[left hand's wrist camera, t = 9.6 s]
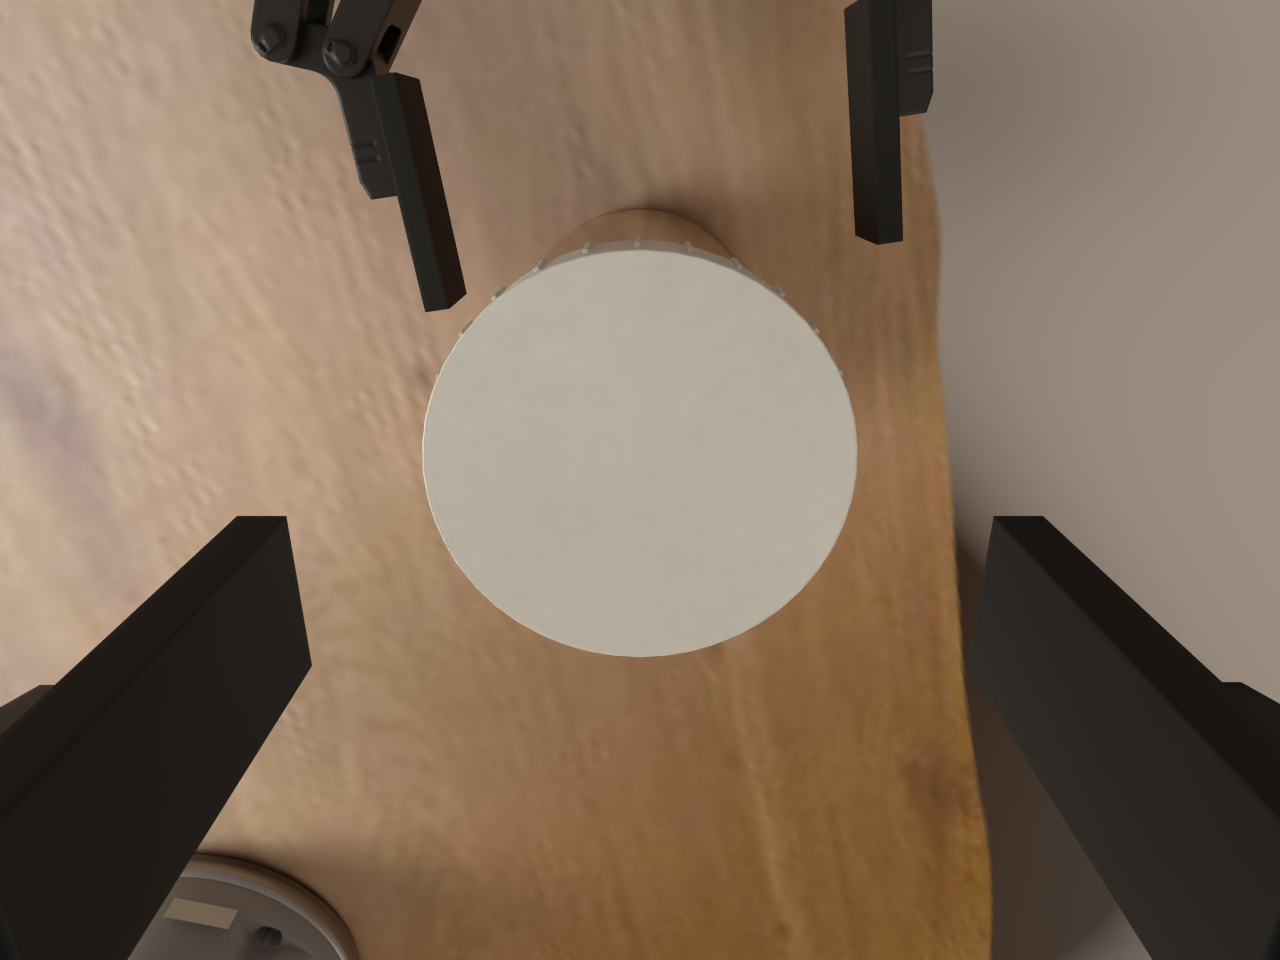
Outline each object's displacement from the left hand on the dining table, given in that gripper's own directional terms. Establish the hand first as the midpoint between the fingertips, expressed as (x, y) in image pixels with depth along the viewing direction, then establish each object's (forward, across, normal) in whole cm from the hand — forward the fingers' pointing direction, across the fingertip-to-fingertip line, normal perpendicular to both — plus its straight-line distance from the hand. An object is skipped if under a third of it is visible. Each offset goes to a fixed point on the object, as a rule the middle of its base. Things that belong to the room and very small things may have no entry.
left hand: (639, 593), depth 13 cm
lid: (+6, 0, 0) cm, 6 cm away
